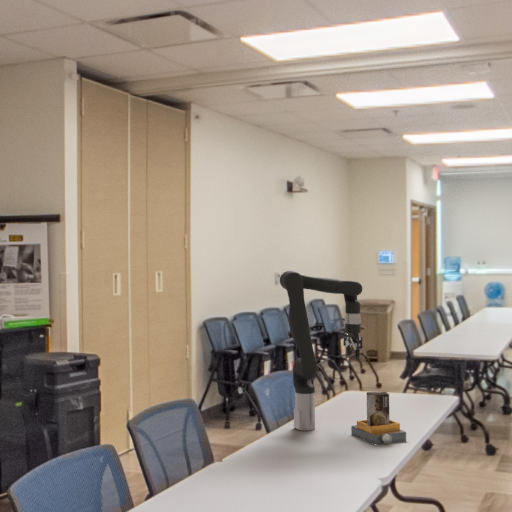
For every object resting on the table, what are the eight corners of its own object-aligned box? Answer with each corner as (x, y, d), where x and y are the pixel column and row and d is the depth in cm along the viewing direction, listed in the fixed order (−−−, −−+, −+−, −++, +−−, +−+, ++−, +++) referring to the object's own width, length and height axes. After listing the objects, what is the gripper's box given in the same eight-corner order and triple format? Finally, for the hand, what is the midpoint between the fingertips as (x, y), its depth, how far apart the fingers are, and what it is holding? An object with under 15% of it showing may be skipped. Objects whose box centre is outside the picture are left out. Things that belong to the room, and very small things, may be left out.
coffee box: (386, 426, 336) (386, 391, 336) (389, 430, 329) (389, 394, 329) (366, 427, 335) (366, 391, 335) (369, 430, 329) (369, 394, 329)
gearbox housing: (378, 446, 318) (377, 430, 317) (351, 434, 338) (351, 419, 338) (409, 442, 324) (409, 426, 324) (381, 431, 344) (381, 416, 344)
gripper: (338, 321, 360) (338, 355, 360) (353, 324, 347) (353, 358, 347) (352, 321, 363) (352, 354, 363) (367, 323, 350) (367, 358, 350)
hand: (352, 356), depth 355 cm, fingers open, 8 cm apart
